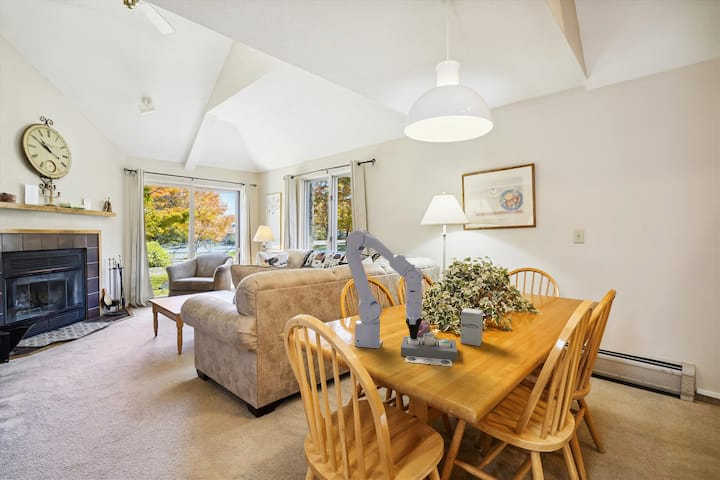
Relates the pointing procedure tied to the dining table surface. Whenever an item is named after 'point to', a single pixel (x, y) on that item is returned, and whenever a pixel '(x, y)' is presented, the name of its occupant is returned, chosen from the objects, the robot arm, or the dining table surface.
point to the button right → (444, 343)
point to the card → (428, 361)
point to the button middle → (428, 339)
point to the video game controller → (423, 329)
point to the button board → (429, 350)
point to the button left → (413, 341)
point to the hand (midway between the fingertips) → (413, 338)
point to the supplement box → (471, 326)
